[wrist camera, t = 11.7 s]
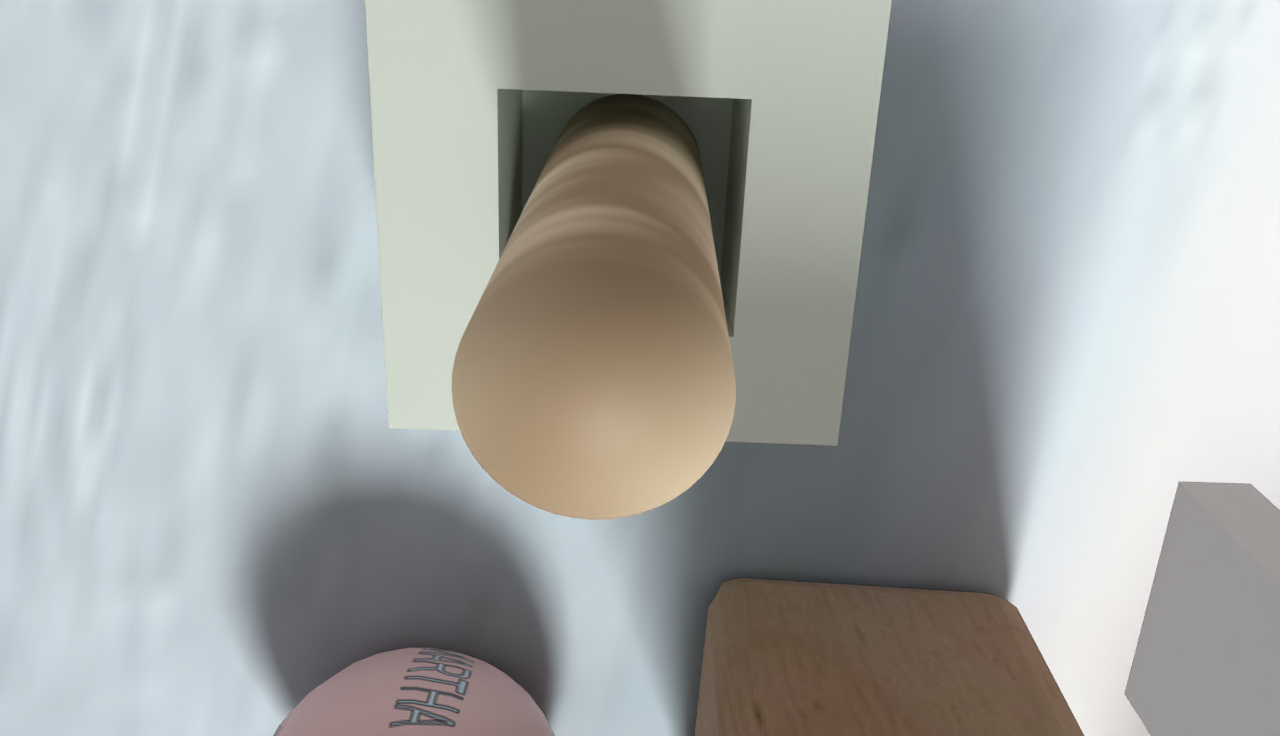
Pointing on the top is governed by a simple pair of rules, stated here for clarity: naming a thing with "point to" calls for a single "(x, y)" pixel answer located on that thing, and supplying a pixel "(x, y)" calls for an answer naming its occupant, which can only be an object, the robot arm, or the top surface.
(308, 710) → the mug
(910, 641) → the wooden block
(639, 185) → the birch peg
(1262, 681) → the robot arm
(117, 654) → the top surface
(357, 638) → the top surface
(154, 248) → the top surface
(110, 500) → the top surface
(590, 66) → the socket block
